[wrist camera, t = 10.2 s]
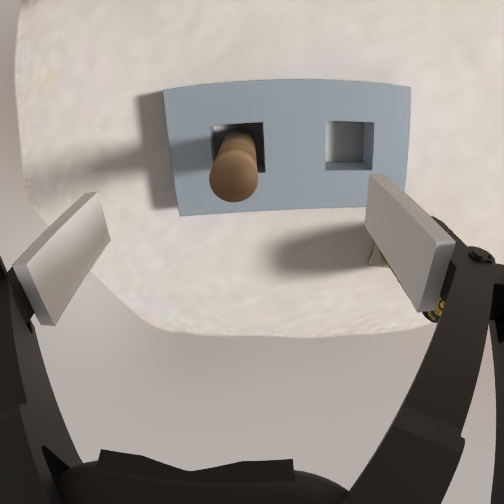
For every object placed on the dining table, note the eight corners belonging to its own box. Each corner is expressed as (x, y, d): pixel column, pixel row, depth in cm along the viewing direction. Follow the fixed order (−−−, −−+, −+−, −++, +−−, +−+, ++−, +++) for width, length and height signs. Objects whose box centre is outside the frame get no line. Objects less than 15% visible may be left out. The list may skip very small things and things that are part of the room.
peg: (222, 129, 29) (206, 158, 19) (253, 127, 29) (256, 154, 19) (224, 159, 31) (211, 203, 20) (255, 157, 31) (259, 201, 20)
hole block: (170, 88, 27) (163, 90, 25) (397, 85, 27) (410, 86, 24) (184, 204, 33) (179, 216, 30) (391, 195, 33) (402, 206, 30)
